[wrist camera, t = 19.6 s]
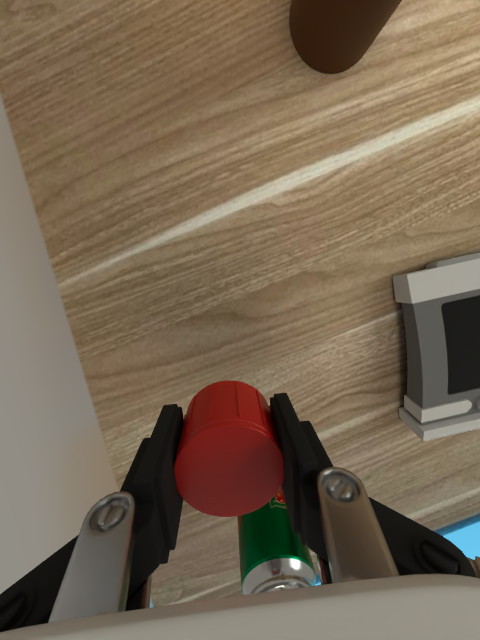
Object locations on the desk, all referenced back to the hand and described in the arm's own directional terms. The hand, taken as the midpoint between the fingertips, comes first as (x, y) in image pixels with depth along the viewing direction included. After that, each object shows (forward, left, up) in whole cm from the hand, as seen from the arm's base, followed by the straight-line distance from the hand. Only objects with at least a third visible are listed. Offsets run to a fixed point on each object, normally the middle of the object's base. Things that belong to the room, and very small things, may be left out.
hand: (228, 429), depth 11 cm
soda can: (+9, -11, -13) cm, 19 cm away
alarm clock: (+23, +11, -13) cm, 29 cm away
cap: (0, 0, -1) cm, 1 cm away
